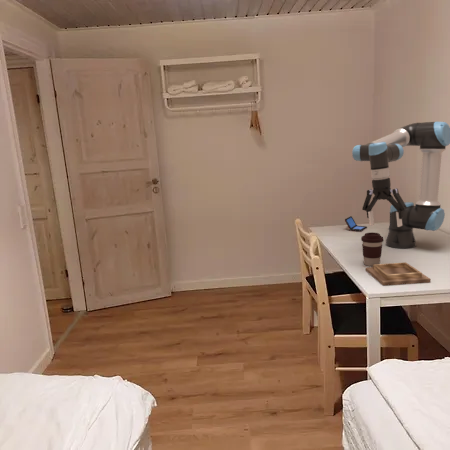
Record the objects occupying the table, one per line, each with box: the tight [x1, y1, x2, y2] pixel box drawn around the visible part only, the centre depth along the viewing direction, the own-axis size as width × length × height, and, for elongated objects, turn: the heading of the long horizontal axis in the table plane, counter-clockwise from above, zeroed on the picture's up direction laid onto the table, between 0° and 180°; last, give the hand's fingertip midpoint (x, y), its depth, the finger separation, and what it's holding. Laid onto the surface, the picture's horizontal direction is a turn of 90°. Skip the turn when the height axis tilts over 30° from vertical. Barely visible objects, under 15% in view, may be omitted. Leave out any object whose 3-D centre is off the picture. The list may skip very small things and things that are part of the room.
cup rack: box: [365, 261, 432, 287], centre depth 191 cm, size 20×20×4 cm
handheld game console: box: [344, 215, 368, 233], centre depth 278 cm, size 12×11×7 cm
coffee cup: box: [360, 232, 384, 267], centre depth 207 cm, size 10×10×15 cm
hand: (385, 225), depth 194 cm, fingers open, 13 cm apart
